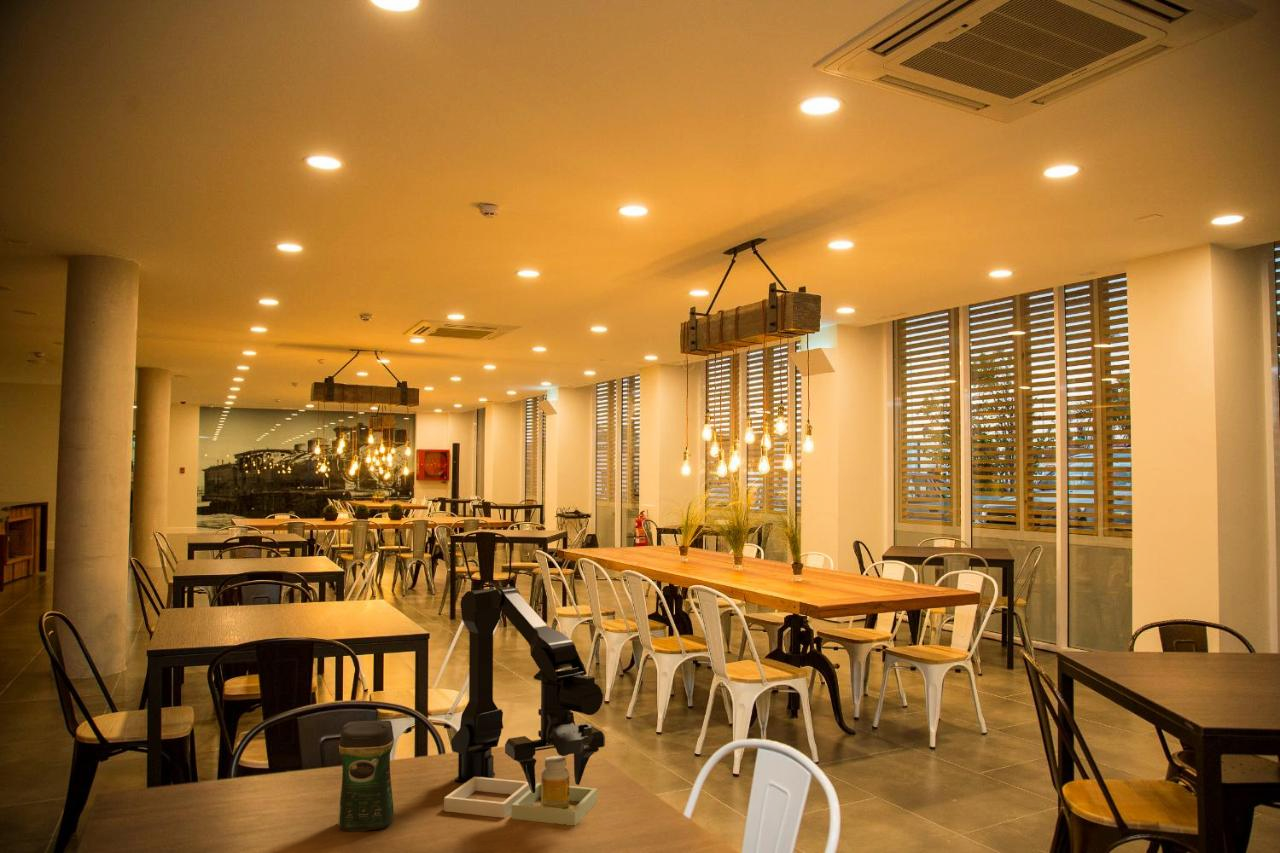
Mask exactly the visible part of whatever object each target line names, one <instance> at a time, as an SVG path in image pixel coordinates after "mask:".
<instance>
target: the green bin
mask: <svg viewBox="0 0 1280 853" xmlns="http://www.w3.org/2000/svg"><path fill="white" fill-rule="evenodd" d="M540 798H541V782H537V783H536V788H535V793H532V792H531V790H529V791H528V792H526V793H525V794H524V795H523V796H522V797H520V798H519V799H518V800H517V801H516V802H515V803H513V804H512V812H511V819H512V820H519V821H521V820H522V821H527V822H528V821H529V822H530V821H531V822H536V823H537V822H538V823H547V824H555V823H558V825H564V824H566V826H567V825H568V826H573V825H575V826H577V825H578V823H579V822H580V821H581V820H582V819H583V818H584V816H586V814H587V813H588V812H589V811H590V810H591V809H592V808H593V807H594V806H595V805H596V804H597V803H598V788H596V787H595V788H593V787H586V786H585V787H584V786H576V785H574V786H573V785H569V801H571V802H578V804H576V806H575V807H574V808H573V809H570V808H569V809H561V808H552V807H542V806H541V805H540V806H539V805H533V804H534V803H536V802H537V801H538V800H539V799H540Z"/></svg>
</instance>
